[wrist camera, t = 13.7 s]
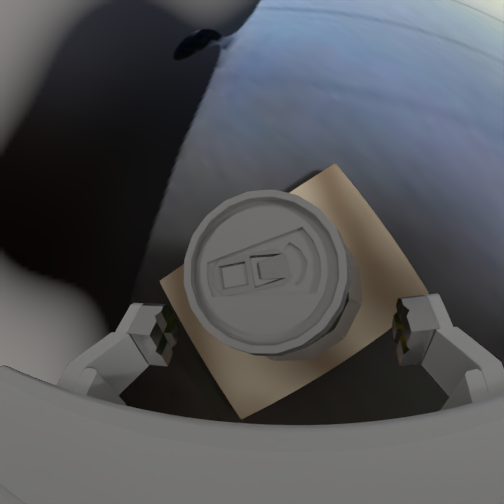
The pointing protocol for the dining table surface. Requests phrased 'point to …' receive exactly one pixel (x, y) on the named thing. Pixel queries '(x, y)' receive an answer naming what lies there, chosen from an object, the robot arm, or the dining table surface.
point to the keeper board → (365, 328)
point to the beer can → (267, 273)
